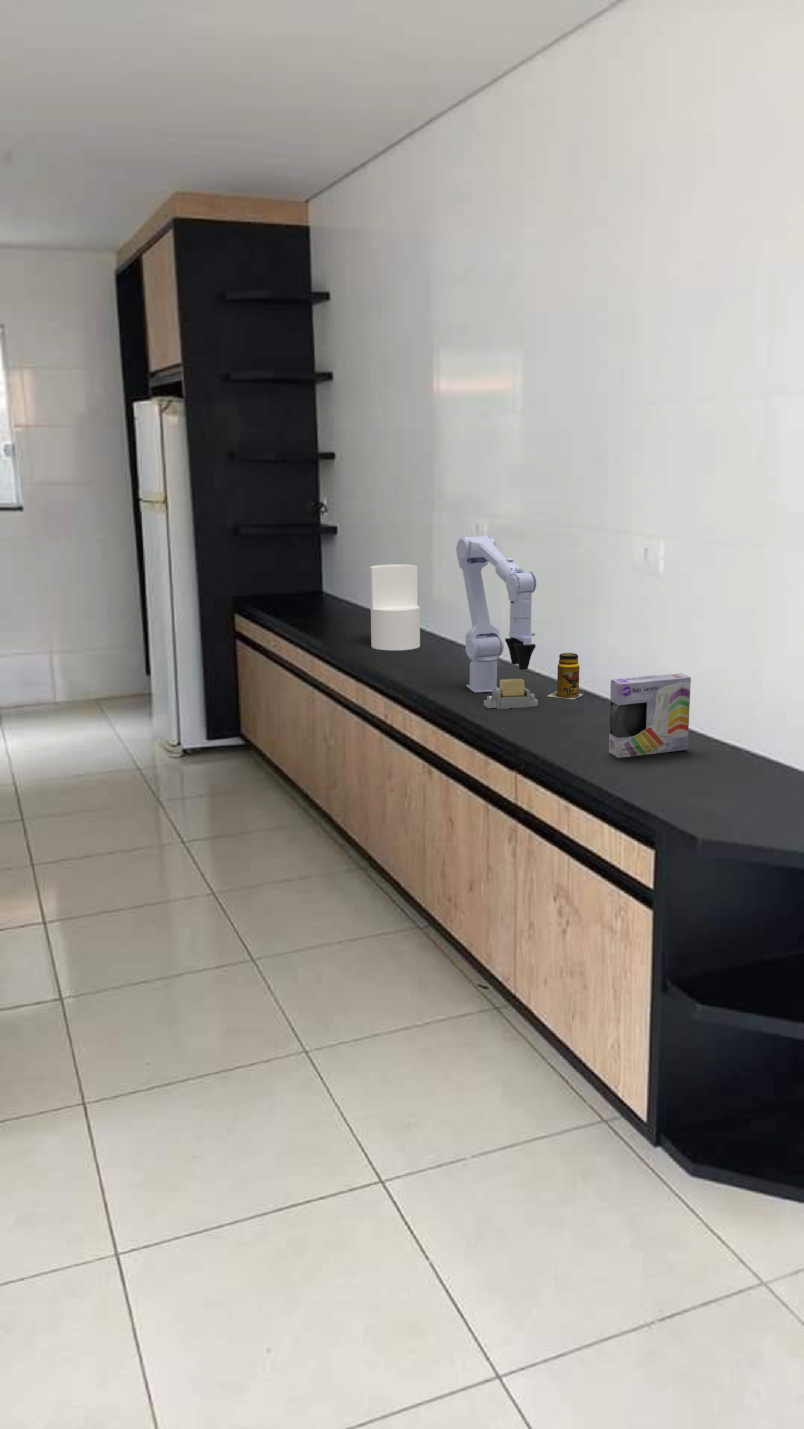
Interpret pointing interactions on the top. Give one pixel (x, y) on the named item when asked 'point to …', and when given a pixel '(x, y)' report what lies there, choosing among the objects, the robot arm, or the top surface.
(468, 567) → the robot arm
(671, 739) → the cake pan box
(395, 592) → the cylinder
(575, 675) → the condiment
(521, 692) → the tan block
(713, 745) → the top surface
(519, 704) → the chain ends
